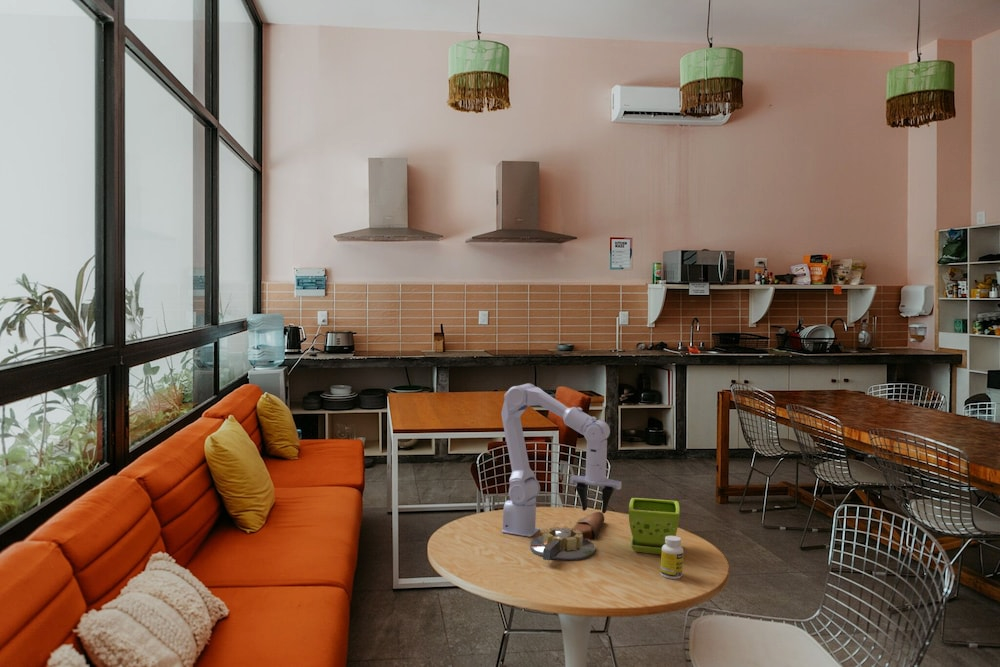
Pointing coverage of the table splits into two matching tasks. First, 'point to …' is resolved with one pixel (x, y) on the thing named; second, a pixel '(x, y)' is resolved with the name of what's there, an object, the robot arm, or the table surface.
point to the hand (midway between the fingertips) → (594, 511)
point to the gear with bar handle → (560, 542)
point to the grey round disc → (564, 555)
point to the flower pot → (652, 523)
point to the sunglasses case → (590, 525)
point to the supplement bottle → (672, 558)
